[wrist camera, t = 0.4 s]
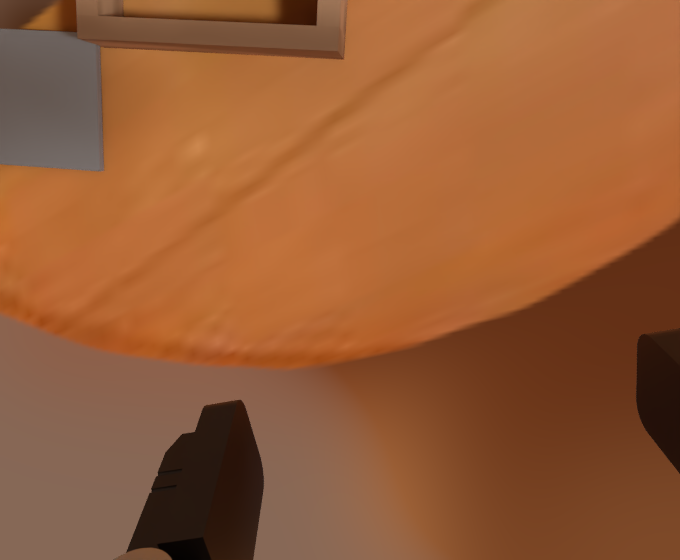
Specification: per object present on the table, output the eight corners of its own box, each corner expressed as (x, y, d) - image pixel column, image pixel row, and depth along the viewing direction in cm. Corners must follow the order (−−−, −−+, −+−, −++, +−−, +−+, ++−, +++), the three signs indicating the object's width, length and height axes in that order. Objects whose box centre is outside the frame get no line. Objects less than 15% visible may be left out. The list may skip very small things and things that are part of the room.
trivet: (-26, 28, 36) (-32, 27, 35) (99, 34, 35) (95, 33, 34) (-16, 162, 37) (-22, 162, 37) (103, 170, 37) (99, 171, 36)
